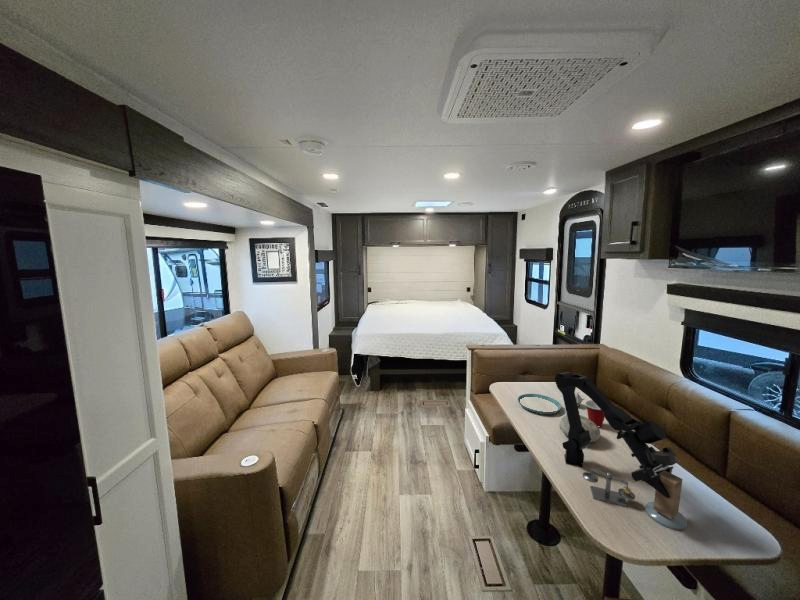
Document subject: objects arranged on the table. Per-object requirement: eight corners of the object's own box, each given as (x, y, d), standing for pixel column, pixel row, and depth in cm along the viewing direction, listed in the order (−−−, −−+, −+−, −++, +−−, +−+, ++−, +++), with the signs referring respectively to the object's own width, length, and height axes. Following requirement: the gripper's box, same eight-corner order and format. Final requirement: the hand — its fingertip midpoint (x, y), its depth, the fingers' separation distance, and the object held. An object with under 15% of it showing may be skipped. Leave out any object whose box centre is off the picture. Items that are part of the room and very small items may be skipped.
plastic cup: (579, 420, 174) (580, 399, 173) (598, 419, 174) (600, 399, 173) (591, 430, 163) (593, 408, 162) (611, 430, 163) (613, 408, 162)
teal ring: (508, 402, 196) (509, 397, 195) (536, 396, 206) (537, 391, 206) (540, 420, 174) (541, 414, 174) (570, 411, 184) (570, 406, 184)
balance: (582, 496, 117) (584, 471, 116) (580, 485, 123) (582, 461, 122) (636, 509, 111) (639, 483, 110) (631, 497, 116) (634, 472, 115)
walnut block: (653, 508, 109) (657, 474, 107) (660, 503, 111) (664, 470, 109) (670, 519, 104) (675, 483, 103) (678, 514, 107) (682, 479, 105)
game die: (574, 410, 194) (580, 395, 196) (582, 411, 185) (589, 396, 188) (561, 402, 195) (567, 388, 197) (569, 403, 186) (575, 388, 189)
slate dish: (651, 523, 105) (651, 521, 105) (640, 500, 115) (640, 498, 115) (693, 534, 101) (693, 531, 101) (678, 509, 111) (678, 507, 111)
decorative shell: (599, 434, 159) (601, 416, 158) (599, 452, 145) (600, 431, 143) (560, 424, 169) (562, 407, 168) (556, 439, 154) (557, 420, 153)
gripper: (644, 448, 104) (682, 500, 96) (672, 434, 112) (709, 481, 104) (617, 456, 112) (649, 506, 104) (645, 443, 120) (677, 488, 112)
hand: (672, 495), depth 106 cm, fingers closed on walnut block, 5 cm apart
